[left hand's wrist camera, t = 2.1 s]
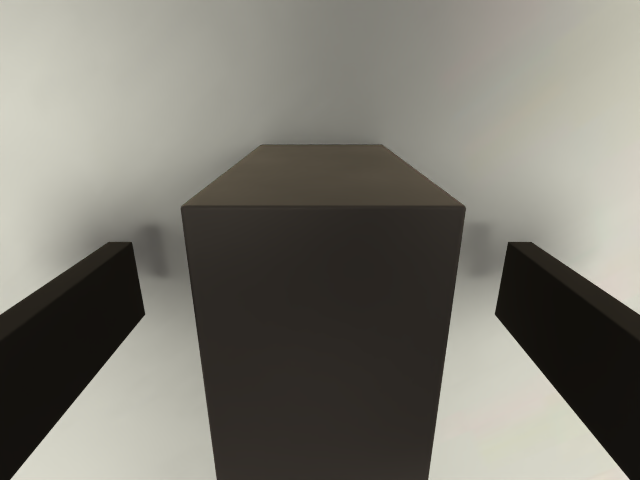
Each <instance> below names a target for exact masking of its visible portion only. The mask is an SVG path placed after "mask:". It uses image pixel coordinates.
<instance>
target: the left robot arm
mask: <svg viewBox="0 0 640 480" xmlns="http://www.w3.org/2000/svg"><path fill="white" fill-rule="evenodd" d="M144 315H145V311H144V305H143V300H142V294H141V289H140V284H139V278H138V273H137V267H136V262H135V257H134V251H133V246H132V242H108V243H107V244H105V245H104V246H102V247H101V248H99V249H98V250H96V251H95V252H93V253H92V254H90V255H89V256H87V257H86V258H84V259H83V260H81V261H80V262H78V263H77V264H75V265H74V266H72V267H71V268H69V269H68V270H66V271H65V272H63V273H62V274H60V275H59V276H57V277H56V278H55V279H53V280H52V281H50V282H49V283H47V284H46V285H44V286H43V287H41V288H40V289H38V290H37V291H35V292H34V293H32V294H31V295H29V296H28V297H26V298H25V299H23V300H22V301H20V302H19V303H17V304H16V305H14V306H13V307H11V308H10V309H8V310H7V311H5V312H4V313H2V314H1V315H0V480H10V479H11V478H12V477H13V476H14V474H15V473H16V472H17V471H18V469H19V468H20V467H21V466H22V465H23V463H24V462H25V461H26V460H27V458H28V457H29V456H30V455H31V454H32V452H33V451H34V450H35V449H36V447H37V446H38V445H39V444H40V443H41V441H42V440H43V439H44V438H45V436H46V435H47V434H48V433H49V432H50V430H51V429H52V428H53V427H54V425H55V424H56V423H57V422H58V420H59V419H60V418H61V417H62V416H63V414H64V413H65V412H66V411H67V409H68V408H69V407H70V406H71V405H72V403H73V402H74V401H75V400H76V398H77V397H78V396H79V395H80V394H81V392H82V391H83V390H84V389H85V387H86V386H87V385H88V384H89V383H90V381H91V380H92V379H93V378H94V376H95V375H96V374H97V373H98V372H99V370H100V369H101V368H102V367H103V365H104V364H105V363H106V362H107V360H108V359H109V358H110V357H111V356H112V354H113V353H114V352H115V351H116V349H117V348H118V347H119V346H120V345H121V343H122V342H123V341H124V340H125V338H126V337H127V336H128V335H129V334H130V332H131V331H132V330H133V329H134V327H135V326H136V325H137V324H138V323H139V321H140V320H141V319H142V318H143V316H144ZM495 315H496V316H497V318H498V319H499V320H500V321H501V323H502V324H503V325H504V326H505V327H506V329H507V330H508V331H509V332H510V334H511V335H512V336H513V337H514V338H515V340H516V341H517V342H518V343H519V345H520V346H521V347H522V348H523V349H524V351H525V352H526V353H527V354H528V356H529V357H530V358H531V359H532V360H533V362H534V363H535V364H536V365H537V367H538V368H539V369H540V370H541V371H542V373H543V374H544V375H545V376H546V378H547V379H548V380H549V381H550V383H551V384H552V385H553V386H554V387H555V389H556V390H557V391H558V392H559V394H560V395H561V396H562V397H563V398H564V400H565V401H566V402H567V403H568V405H569V406H570V407H571V408H572V409H573V411H574V412H575V413H576V414H577V416H578V417H579V418H580V419H581V420H582V422H583V423H584V424H585V425H586V427H587V428H588V429H589V430H590V431H591V433H592V434H593V435H594V436H595V438H596V439H597V440H598V441H599V443H600V444H601V445H602V446H603V447H604V449H605V450H606V451H607V452H608V454H609V455H610V456H611V457H612V458H613V460H614V461H615V462H616V463H617V465H618V466H619V467H620V468H621V469H622V471H623V472H624V473H625V474H626V476H627V477H628V478H629V479H630V480H640V315H639V314H638V313H636V312H635V311H633V310H632V309H630V308H629V307H627V306H626V305H624V304H623V303H621V302H620V301H618V300H617V299H615V298H614V297H612V296H611V295H609V294H608V293H606V292H605V291H603V290H602V289H600V288H599V287H597V286H596V285H594V284H593V283H591V282H590V281H588V280H587V279H586V278H584V277H583V276H581V275H580V274H578V273H577V272H575V271H574V270H572V269H571V268H569V267H568V266H566V265H565V264H563V263H562V262H560V261H559V260H557V259H556V258H554V257H553V256H551V255H550V254H548V253H547V252H545V251H544V250H542V249H541V248H539V247H538V246H536V245H535V244H533V243H532V242H508V246H507V251H506V257H505V262H504V267H503V273H502V278H501V284H500V289H499V295H498V300H497V305H496V311H495Z"/></svg>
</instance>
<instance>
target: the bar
mask: <svg viewBox="0 0 640 480" xmlns="http://www.w3.org/2000/svg"><path fill="white" fill-rule="evenodd" d="M465 211H466V208H465V206H464V205H463V204H462V203H460V202H459V201H457V200H456V199H455V198H453V197H452V196H451V195H449V194H448V193H447V192H445V191H444V190H443V189H441V188H440V187H439V186H437V185H436V184H434V183H433V182H432V181H430V180H429V179H428V178H426V177H425V176H424V175H422V174H421V173H420V172H418V171H417V170H416V169H414V168H413V167H412V166H410V165H409V164H407V163H406V162H405V161H403V160H402V159H401V158H399V157H398V156H397V155H395V154H394V153H393V152H391V151H390V150H389V149H387V148H386V147H384V146H383V145H260V146H259V147H258V148H256V149H255V150H254V151H252V152H251V153H250V154H249V155H247V156H246V157H245V158H243V159H242V160H241V161H239V162H238V163H237V164H236V165H234V166H233V167H232V168H230V169H229V170H228V171H226V172H225V173H224V174H223V175H221V176H220V177H219V178H217V179H216V180H215V181H213V182H212V183H211V184H210V185H208V186H207V187H206V188H204V189H203V190H202V191H200V192H199V193H198V194H197V195H195V196H194V197H193V198H191V199H190V200H189V201H187V202H186V203H185V204H184V205H182V206H181V214H182V222H183V229H184V237H185V244H186V252H187V259H188V267H189V274H190V282H191V289H192V297H193V304H194V312H195V319H196V327H197V334H198V342H199V349H200V357H201V364H202V372H203V379H204V387H205V394H206V402H207V409H208V417H209V424H210V432H211V439H212V447H213V454H214V462H215V469H216V477H217V480H428V476H429V469H430V462H431V455H432V447H433V440H434V433H435V426H436V419H437V412H438V404H439V397H440V390H441V383H442V376H443V369H444V361H445V354H446V347H447V340H448V333H449V326H450V318H451V311H452V304H453V297H454V290H455V283H456V275H457V268H458V261H459V254H460V247H461V239H462V232H463V225H464V218H465Z"/></svg>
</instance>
